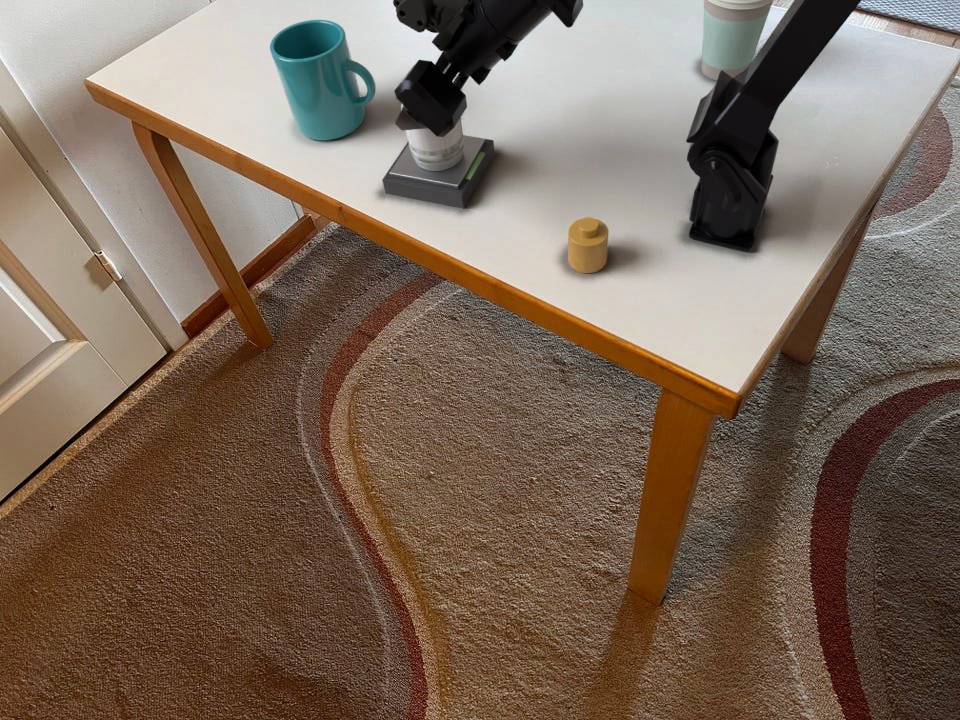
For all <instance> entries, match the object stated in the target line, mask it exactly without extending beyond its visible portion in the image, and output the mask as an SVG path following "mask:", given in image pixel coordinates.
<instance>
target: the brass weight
mask: <svg viewBox="0 0 960 720" xmlns="http://www.w3.org/2000/svg"><path fill="white" fill-rule="evenodd" d="M567 230H568V232H567V262H568V265H569V266H570V268H572V269H573V270H574V271H575V272H578V273H581V274H594V273H596V272H599V271H600V270H602V269H603V268H604V267H605V266H606V264H607V263H608V262H607V261H608V248H609V234H610V231H609V227H608V226H607V225H606V223H605V222H603V221H602V220H600V219H597V218H595V217H590V216H589V217H583V218H580V219H577V220H576V221H574V222H573V223H571V225H569V228H568V229H567Z"/></svg>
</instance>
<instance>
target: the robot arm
mask: <svg viewBox="0 0 960 720" xmlns="http://www.w3.org/2000/svg"><path fill="white" fill-rule="evenodd" d="M861 2H862V0H793V2H792V3H791V4H790V6H789V7H788V9H787V10H786V12H785V13H784V15H783V16H782V17H781V19H780V21H779V22H778V24H777V25H775V28H774V29H773V30H772V32H771V34H770V35H769V36H768V38H767V39H766V41H765V42H764V44H763V45H762V47H761V48H760V49H759V51H758V52H757V54H756V55H755V56H754V57H753V59H752V62H751V64H750V65H749V66H748V67H747V68H746V69H745V70H744V71H743V72H741V73H740V74H738V75H737V76H735V77H734V78H732V77H731V76H730V75H728V74H727V73H725V72H724V71H723V70H721V71H720V73H719V75H718V77H717V80H715V83H714V85H713V87H712V89H711V90H710V91H709V92H708V93H707V94H706V95H704V96H703V97H701V98H700V99H699V103H698V106H697V108H696V111H695V114H694V117H693V120H692V123H691V125H690V127H689V128H690V129H689V131H688V135H687V137H686V140H685V142H686V143H687V144H690V145H689V149H688V151H687V155H686V162H688V165H689V167H690V169H691V171H692V172H693V174H695V175H696V176H697V177H699V180H698V181H697V184H696V186H695V189H694V192H693V196H692V201H691V208H690V212H689V218H688V220H689V221H690V222H692V224H691V227H690V229H689V231H688V238H690V239H692V240H696V241H700V242H704V243H708V244H712V245H717V246H721V247H726V248H729V249H735V250H738V251H743V252H747V253H749V252H752V251H753V248H754V246H755V241H756V239H757V237H758V233H759V230H760V227H761V224H762V221H763V218H764V215H765V212H766V209H765V207H766V203H767V200H768V196H769V193H770V190H771V186H772V183H773V179H774V175H773V174H772V173H773V169H774V165H775V162H776V161H775V160H776V157H777V153H778V148H779V144H780V140H779V139H778V138H777V136H776V135H775V134H774V133H773V132H772V130H771V129H770V127H771V125H772V123H773V121H774V119H775V116H776V114H777V112H778V110H779V107H780V106H781V105H782V103H783V102H784V101H785V99H786V98H787V97H788V96H789V95H790V93H791V92H792V91H793V89H794V88H795V86H796V85H797V84H798V83H799V81H800V80H801V79H802V77H803V76H804V75H805V74H806V72H807V71H808V70H809V68H810V67H811V66H812V65H813V63H814V62H815V61H816V60H817V58H818V57H819V56H820V54H821V53H822V52H823V51H824V49H825V48H826V47H827V46H828V44H829V43H830V42H831V41H832V39H833V38H834V36H835V35H836V34H837V33H838V32H839V30H840V29H841V27H842V26H843V25H844V24H845V23H846V21H847V20H848V18H849V17H850V16H851V15H852V14H853V12H854V11H855V10H856V8H857V7H858V6H859V4H860V3H861ZM392 4H393V6H394V8H395V13H396V19H397V20H398V22H400V23H401V24H403V25H404V26H406V27H408V28H410V29H412V30H413V31H415V32H417V33H418V34H419V33H423V32H425V31H427V32H429V33H433V34H436V35H435V37H434V38H433V39H432V41H431V43H432V44H433V45H434V46H435V47H436V48H437V49H438V51H440V52H441V53H440V55H439V57H438V58H437V60H436V62H435V63H434V62H433V61H431V60H424V59H418V60H417V61H416V62H415V63H414V64H413V66H412V67H411V68H410V69H409V70H408V71H407V73H406V74H405V75H404V77H403V78H402V79H401V81H400V82H399V83H398V85H396V87H395V89H394V91H393V92H394V95H395V99H396V100H397V101H398V102H399V103H400V104H401V105H402V104H403V105H404V106H403V108H402V110H400V111H399V114H398V116H397V118H396V120H395V121H394V125H395V126H396V127H397V128H398V129H399V130H401V131H406V130H414V129H429V130H430V131H431V132H433V133H434V134H435V135H436V136H437V137H444V136H445V135H446V134H448V133H449V132H450V131H451V130H452V129H453V128H454V127H455V126H456V124H457V122H458V121H459V119H460V118H461V119H462V116H463V114H464V113H465V112H466V110H467V108H468V102H467V95H466V94H465V93H464V92H463V91H462V89H463V88H464V86H465V85H466V83H467V82H468V80H469V78H471V79H472V80H473V81H474V82H475V83H476V84H477V85H478V86H481V84H483V82H484V81H486V80H487V78H488V77H489V74H490V73H491V71H492V69H493V68H494V67H495V66H496V65H497V64H498V63H499V62H500V61H502V60H503V62H506V61H508V59H510V57H512V56H513V54H514V52H515V51H516V49H517V48H518V45H519V44H520V43H521V42H522V41H523V40H524V39H525V38H526V37H528V36H529V35H530V33H532V32H533V31H534V30H535V29H536V28H537V27H538V26H539V25H541V24H542V22H544V21H545V20H546V19H547V18H548V16H550V15H551V14H552V13H553V14H554V16H556V17H557V19H559V21H560V22H561V23H562V24H563V25H564V27H566V28H568V29H569V28H572V27H573V26H574V24H575V22H576V21H577V19H578V17H579V15H580V14H581V12H582V10H583V8H584V0H392Z"/></svg>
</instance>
